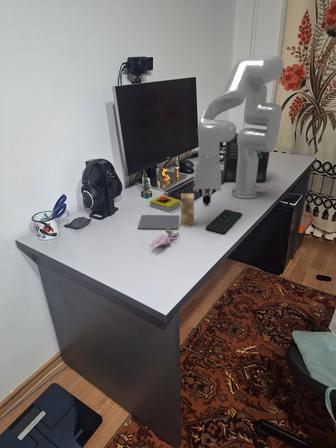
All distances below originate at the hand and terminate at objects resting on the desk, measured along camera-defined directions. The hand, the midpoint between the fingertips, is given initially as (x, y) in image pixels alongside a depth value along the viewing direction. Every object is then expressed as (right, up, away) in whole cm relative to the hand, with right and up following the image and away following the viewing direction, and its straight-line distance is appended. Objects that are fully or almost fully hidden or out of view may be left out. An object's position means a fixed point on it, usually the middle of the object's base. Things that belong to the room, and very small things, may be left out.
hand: (206, 204), depth 121 cm
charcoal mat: (-19, -7, +5) cm, 21 cm away
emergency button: (-16, 0, +20) cm, 26 cm away
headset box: (+27, +17, +51) cm, 61 cm away
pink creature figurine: (-16, -15, -10) cm, 24 cm away
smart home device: (+8, -8, +5) cm, 12 cm away
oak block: (-7, -7, +4) cm, 11 cm away
